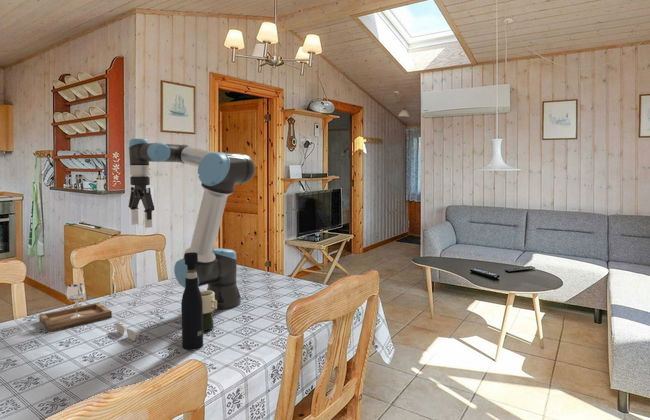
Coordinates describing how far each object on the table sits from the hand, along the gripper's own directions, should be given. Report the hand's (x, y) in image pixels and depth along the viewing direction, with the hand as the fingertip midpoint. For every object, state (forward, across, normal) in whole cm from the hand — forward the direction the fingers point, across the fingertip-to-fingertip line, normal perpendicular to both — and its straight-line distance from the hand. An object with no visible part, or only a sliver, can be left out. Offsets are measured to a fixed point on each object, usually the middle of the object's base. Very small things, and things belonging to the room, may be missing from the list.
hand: (141, 225), depth 180 cm
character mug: (+32, -50, 0) cm, 59 cm away
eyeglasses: (+32, -37, +14) cm, 51 cm away
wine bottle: (+32, -60, +10) cm, 69 cm away
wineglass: (+31, -9, +29) cm, 43 cm away
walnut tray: (+31, -9, +29) cm, 44 cm away
